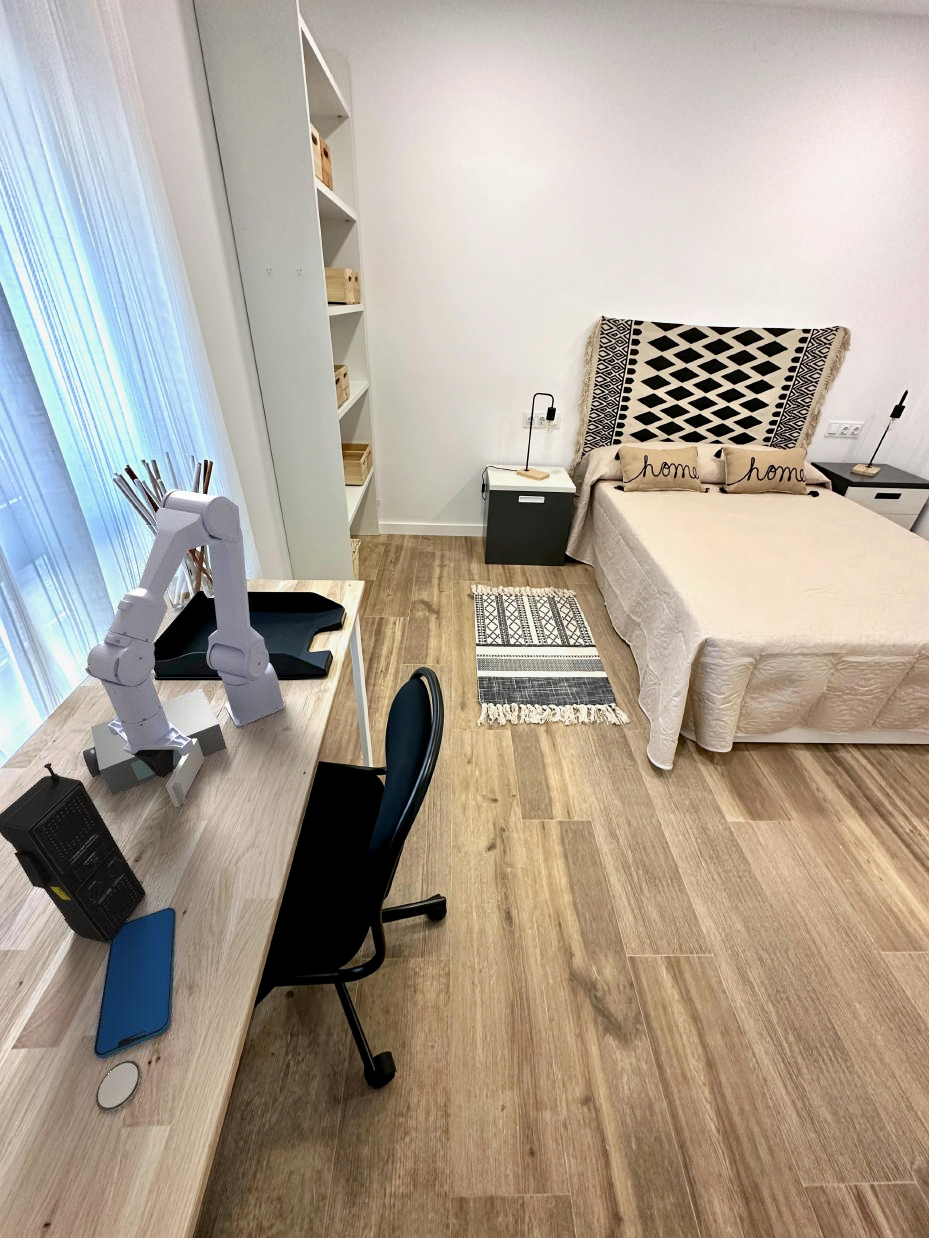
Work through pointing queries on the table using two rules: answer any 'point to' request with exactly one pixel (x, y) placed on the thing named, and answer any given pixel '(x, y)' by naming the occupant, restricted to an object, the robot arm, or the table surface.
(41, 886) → the portable radio
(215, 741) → the camera housing
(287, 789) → the table surface
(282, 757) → the table surface
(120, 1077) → the white round disc
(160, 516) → the robot arm
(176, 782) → the side door
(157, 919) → the smartphone
